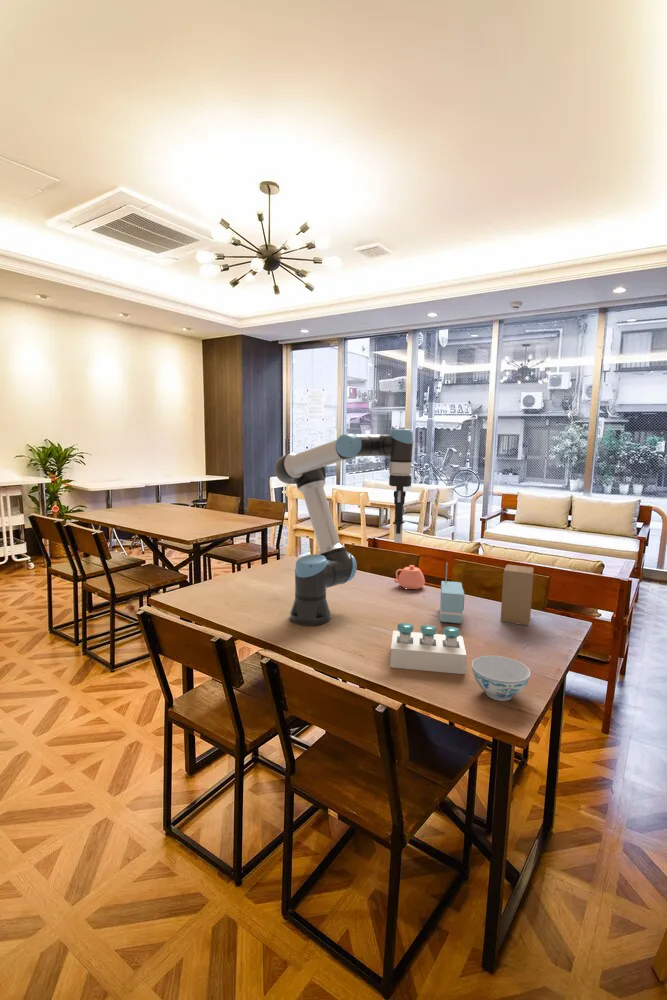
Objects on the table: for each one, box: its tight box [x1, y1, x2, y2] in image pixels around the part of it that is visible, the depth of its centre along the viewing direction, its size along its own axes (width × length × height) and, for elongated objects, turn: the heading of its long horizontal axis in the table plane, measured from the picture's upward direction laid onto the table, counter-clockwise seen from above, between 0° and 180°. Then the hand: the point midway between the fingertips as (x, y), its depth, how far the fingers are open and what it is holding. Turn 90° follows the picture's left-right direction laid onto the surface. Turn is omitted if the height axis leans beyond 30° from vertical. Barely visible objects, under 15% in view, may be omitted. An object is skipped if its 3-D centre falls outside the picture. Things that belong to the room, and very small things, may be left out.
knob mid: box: [419, 624, 437, 646], centre depth 156 cm, size 5×5×9 cm
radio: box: [439, 562, 465, 624], centre depth 193 cm, size 16×9×20 cm, turn 168°
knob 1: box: [397, 622, 414, 644], centre depth 157 cm, size 5×5×9 cm
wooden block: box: [500, 564, 535, 626], centre depth 192 cm, size 10×10×20 cm
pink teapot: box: [393, 564, 426, 590], centre depth 230 cm, size 12×14×10 cm
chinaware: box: [471, 655, 531, 702], centre depth 136 cm, size 15×15×8 cm
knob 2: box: [443, 626, 461, 648], centre depth 155 cm, size 5×5×9 cm
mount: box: [389, 630, 467, 675], centre depth 156 cm, size 22×14×6 cm, turn 80°
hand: (397, 542), depth 174 cm, fingers closed
